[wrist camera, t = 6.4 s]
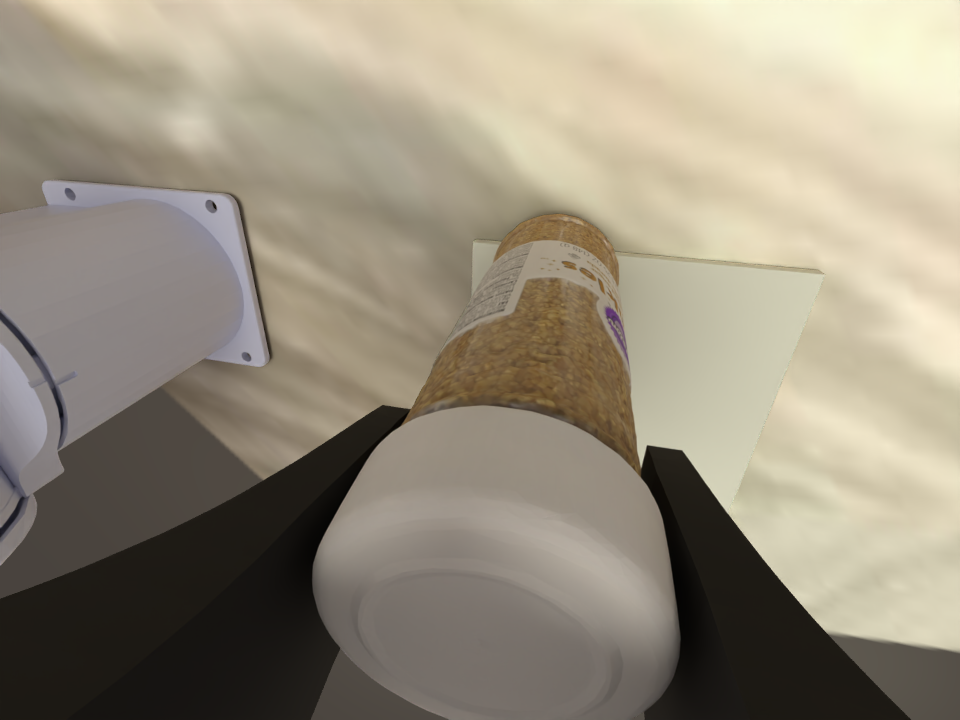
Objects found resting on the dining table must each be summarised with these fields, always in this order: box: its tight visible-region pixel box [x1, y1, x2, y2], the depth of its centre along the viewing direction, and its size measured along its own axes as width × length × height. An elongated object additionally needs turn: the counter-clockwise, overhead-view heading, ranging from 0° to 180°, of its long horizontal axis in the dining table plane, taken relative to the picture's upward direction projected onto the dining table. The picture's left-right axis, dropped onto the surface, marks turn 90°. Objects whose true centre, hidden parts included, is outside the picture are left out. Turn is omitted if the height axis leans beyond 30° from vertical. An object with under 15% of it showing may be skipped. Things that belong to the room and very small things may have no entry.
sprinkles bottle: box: [312, 214, 681, 720], centre depth 11 cm, size 5×5×13 cm
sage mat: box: [471, 239, 825, 513], centre depth 20 cm, size 12×12×1 cm
